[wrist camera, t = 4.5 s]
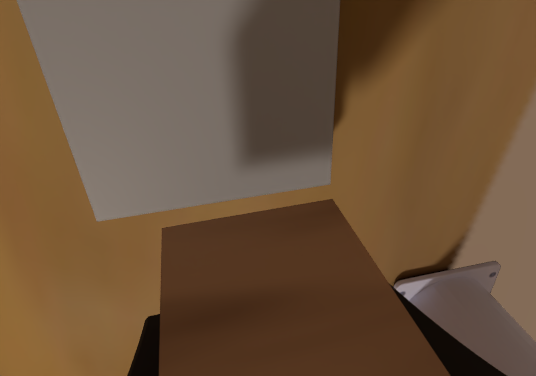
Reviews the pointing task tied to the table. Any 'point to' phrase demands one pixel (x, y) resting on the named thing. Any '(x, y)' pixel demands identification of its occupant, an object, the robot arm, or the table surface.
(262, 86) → the grey box
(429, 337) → the robot arm
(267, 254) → the walnut block
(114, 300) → the table surface
